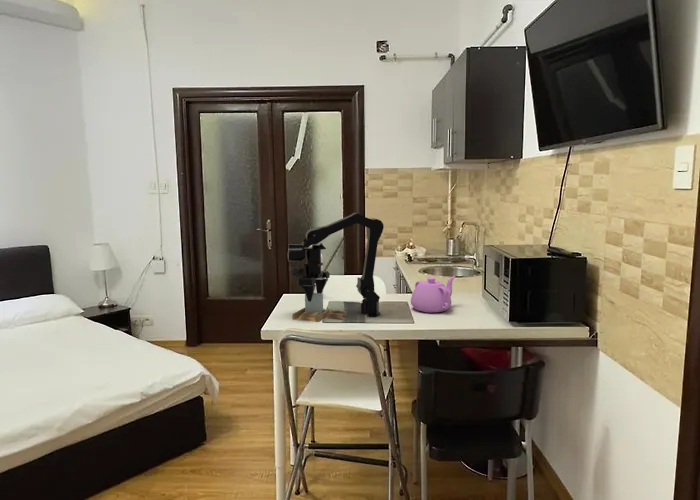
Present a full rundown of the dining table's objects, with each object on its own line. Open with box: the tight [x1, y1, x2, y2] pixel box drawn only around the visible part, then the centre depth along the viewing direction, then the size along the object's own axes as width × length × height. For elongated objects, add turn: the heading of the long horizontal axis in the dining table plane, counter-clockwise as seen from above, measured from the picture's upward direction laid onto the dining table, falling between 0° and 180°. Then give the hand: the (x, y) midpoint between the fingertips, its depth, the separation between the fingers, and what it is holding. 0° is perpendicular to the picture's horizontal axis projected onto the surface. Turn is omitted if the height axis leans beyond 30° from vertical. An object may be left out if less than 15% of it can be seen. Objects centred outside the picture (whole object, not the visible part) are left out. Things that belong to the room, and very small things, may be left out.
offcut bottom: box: [299, 316, 316, 320], centre depth 206 cm, size 7×5×1 cm
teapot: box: [410, 275, 456, 314], centre depth 224 cm, size 22×22×14 cm
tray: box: [292, 307, 330, 323], centre depth 208 cm, size 11×11×3 cm
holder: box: [327, 309, 348, 321], centre depth 207 cm, size 6×5×3 cm
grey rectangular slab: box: [304, 292, 324, 314], centre depth 210 cm, size 7×2×9 cm, turn 70°
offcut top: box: [301, 312, 319, 318], centre depth 206 cm, size 6×4×1 cm
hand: (314, 298), depth 210 cm, fingers open, 9 cm apart
